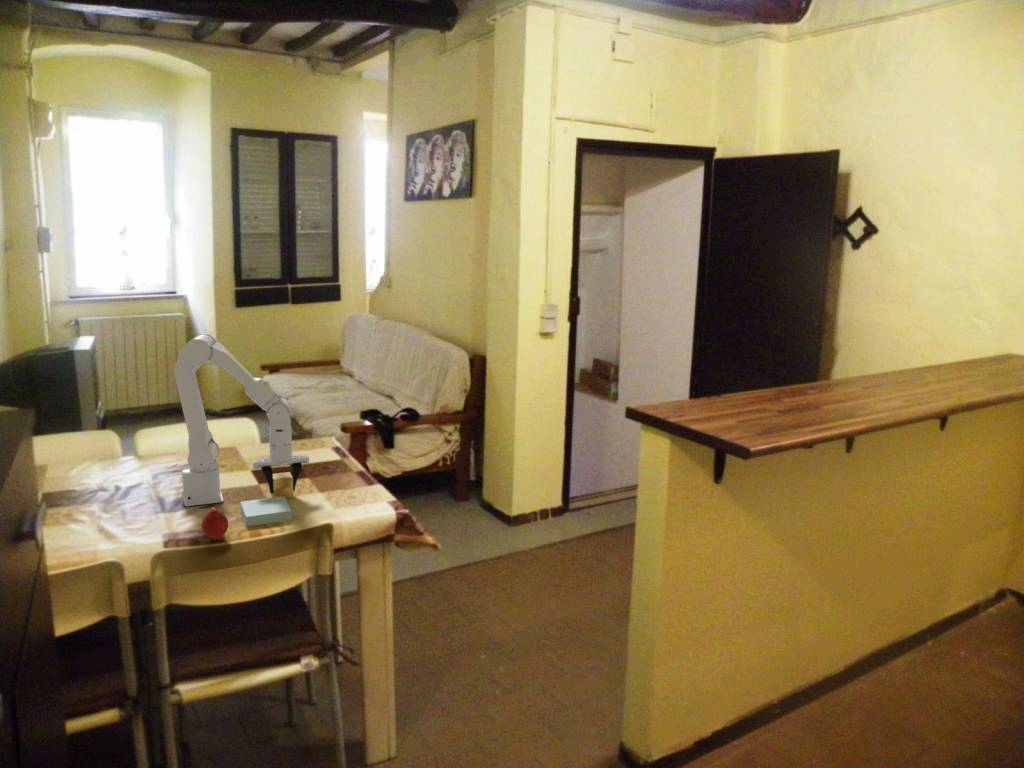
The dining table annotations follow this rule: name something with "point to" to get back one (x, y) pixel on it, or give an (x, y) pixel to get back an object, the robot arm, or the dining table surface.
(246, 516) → the base block
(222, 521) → the onion
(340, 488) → the dining table surface
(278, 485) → the ochre block
